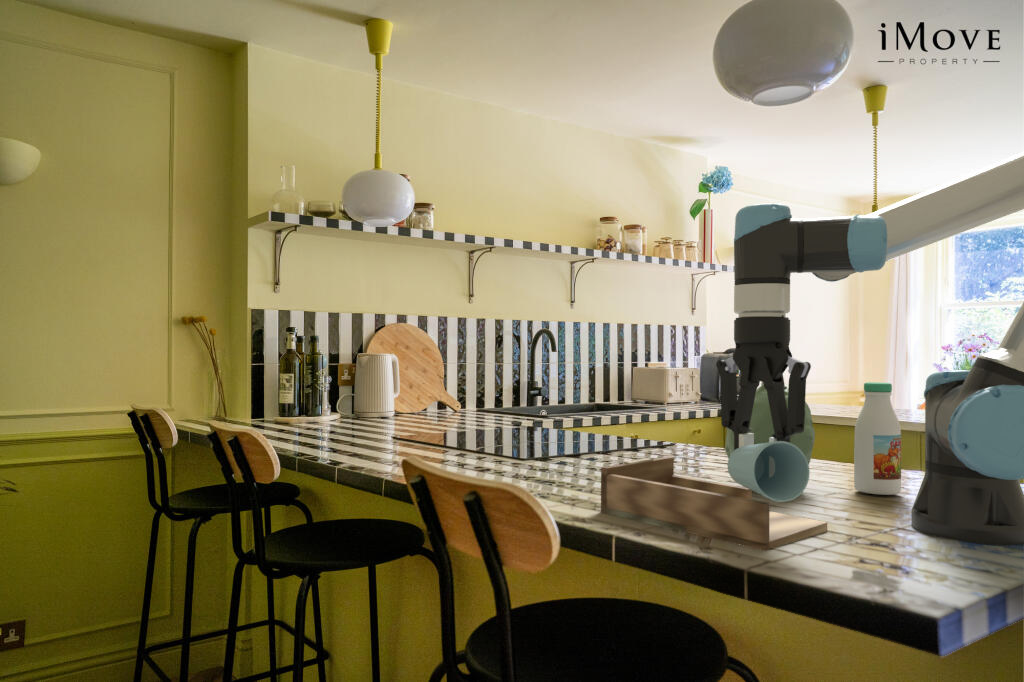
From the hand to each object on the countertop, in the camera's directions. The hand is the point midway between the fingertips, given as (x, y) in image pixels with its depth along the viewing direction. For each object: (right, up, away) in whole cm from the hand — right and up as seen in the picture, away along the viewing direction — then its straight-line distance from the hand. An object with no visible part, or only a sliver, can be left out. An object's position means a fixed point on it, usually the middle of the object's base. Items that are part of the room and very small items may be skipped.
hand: (761, 481), depth 103 cm
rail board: (-6, -8, +6) cm, 11 cm away
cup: (+1, -1, -1) cm, 2 cm away
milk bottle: (+32, -8, +31) cm, 45 cm away
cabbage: (+13, -8, +34) cm, 37 cm away
